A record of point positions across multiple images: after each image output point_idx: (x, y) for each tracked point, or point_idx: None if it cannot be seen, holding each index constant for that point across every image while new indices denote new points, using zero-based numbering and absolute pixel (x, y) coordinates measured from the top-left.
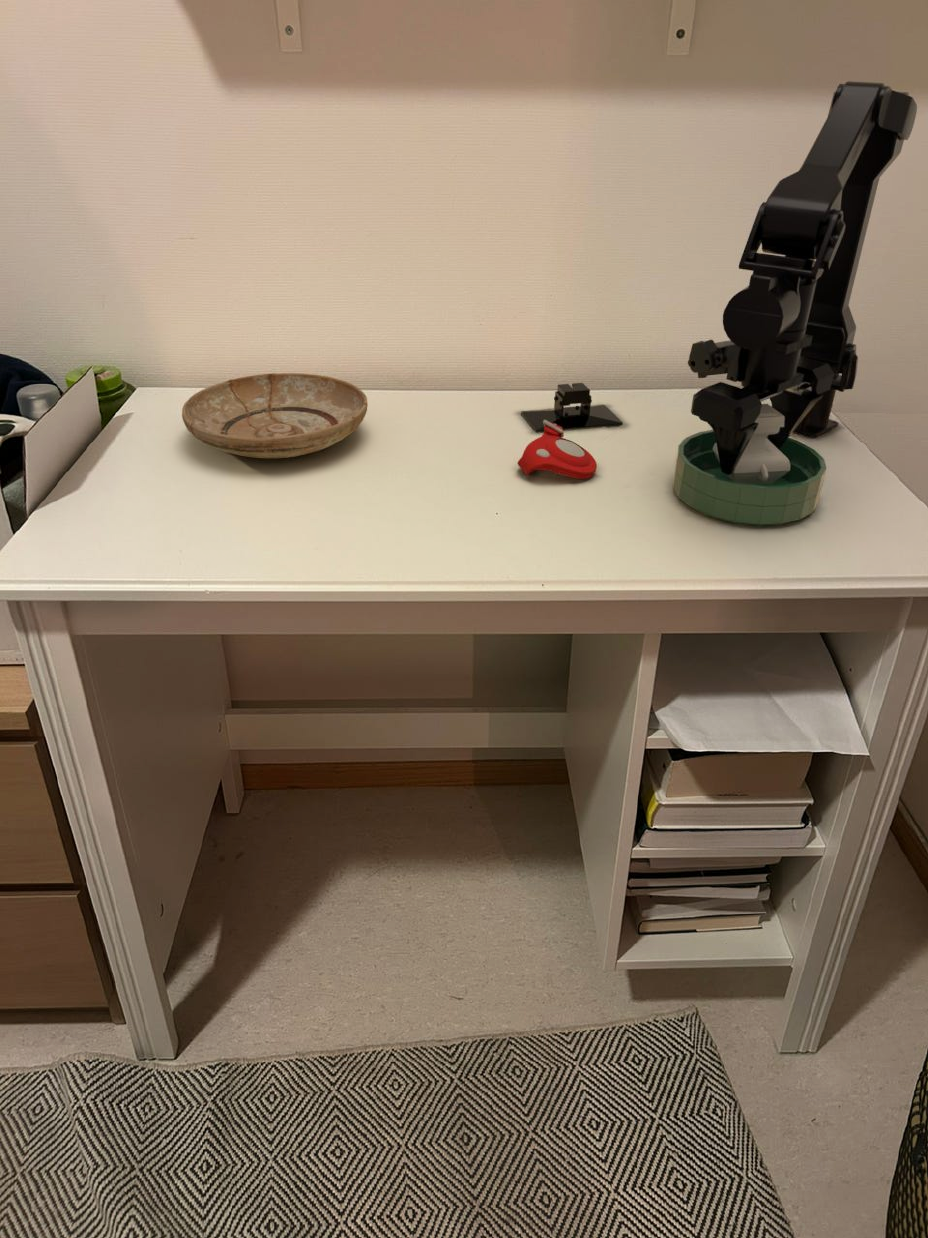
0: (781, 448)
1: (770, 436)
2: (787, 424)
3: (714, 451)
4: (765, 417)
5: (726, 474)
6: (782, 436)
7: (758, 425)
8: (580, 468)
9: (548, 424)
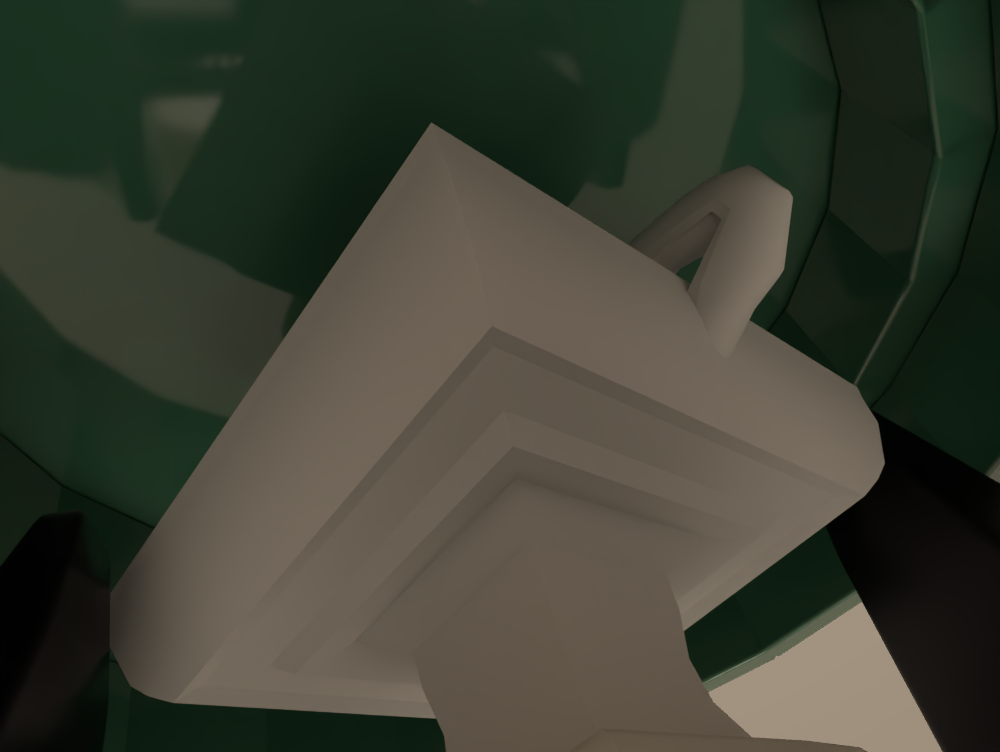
0: (971, 347)
1: (901, 499)
2: (965, 717)
3: (388, 185)
4: None
5: (608, 26)
6: (877, 599)
7: None
8: None
9: None
